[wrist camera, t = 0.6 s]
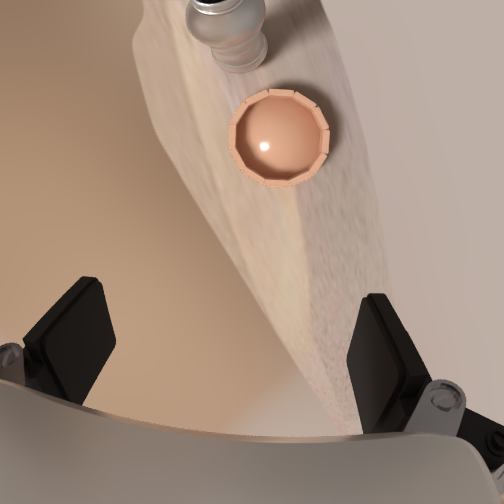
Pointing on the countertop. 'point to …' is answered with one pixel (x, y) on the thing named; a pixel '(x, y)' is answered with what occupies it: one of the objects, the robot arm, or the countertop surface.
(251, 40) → the plastic bottle
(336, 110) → the countertop surface
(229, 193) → the countertop surface
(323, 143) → the round tray
